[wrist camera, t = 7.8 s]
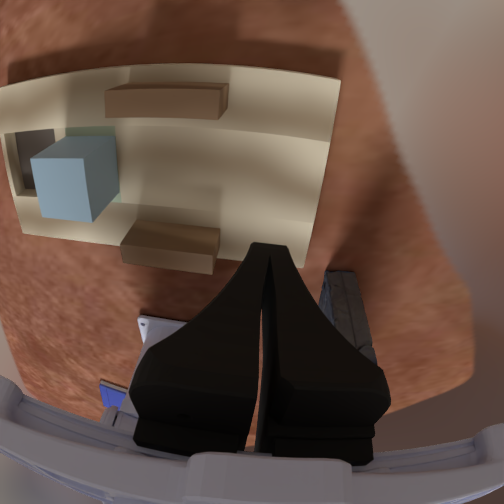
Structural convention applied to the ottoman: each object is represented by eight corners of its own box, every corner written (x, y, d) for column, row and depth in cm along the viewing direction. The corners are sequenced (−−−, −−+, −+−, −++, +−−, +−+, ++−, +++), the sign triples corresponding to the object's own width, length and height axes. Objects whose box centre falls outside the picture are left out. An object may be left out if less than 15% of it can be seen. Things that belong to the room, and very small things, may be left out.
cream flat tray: (302, 255, 24) (305, 297, 20) (31, 224, 24) (4, 253, 21) (336, 78, 16) (352, 87, 13) (7, 84, 17) (-33, 100, 13)
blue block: (119, 192, 20) (92, 222, 17) (72, 188, 20) (42, 217, 17) (115, 136, 18) (83, 158, 15) (65, 136, 18) (30, 158, 15)
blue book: (182, 412, 40) (98, 385, 39) (176, 430, 45) (103, 407, 44) (184, 403, 41) (102, 377, 40) (178, 421, 46) (106, 399, 45)
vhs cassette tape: (319, 387, 35) (322, 464, 27) (294, 387, 36) (293, 464, 28) (361, 269, 25) (387, 375, 17) (325, 266, 25) (340, 376, 17)
